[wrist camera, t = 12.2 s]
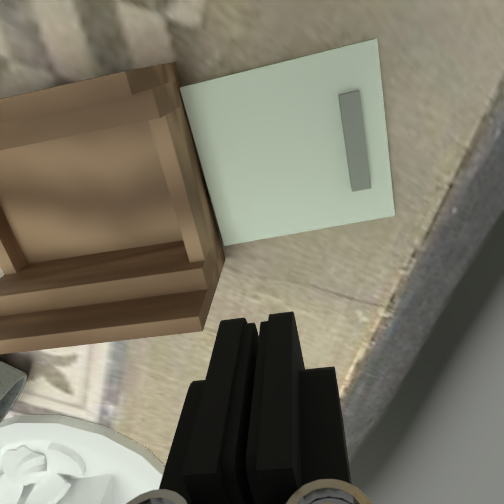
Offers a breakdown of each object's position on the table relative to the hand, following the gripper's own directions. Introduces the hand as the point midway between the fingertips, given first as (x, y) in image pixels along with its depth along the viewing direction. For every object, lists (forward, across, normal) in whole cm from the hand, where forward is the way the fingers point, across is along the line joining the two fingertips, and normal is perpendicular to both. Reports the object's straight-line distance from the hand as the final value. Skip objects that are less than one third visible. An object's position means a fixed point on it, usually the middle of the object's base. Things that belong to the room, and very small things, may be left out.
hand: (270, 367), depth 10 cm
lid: (+22, 0, 0) cm, 22 cm away
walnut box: (+21, +14, 0) cm, 25 cm away
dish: (+22, +29, +33) cm, 49 cm away
